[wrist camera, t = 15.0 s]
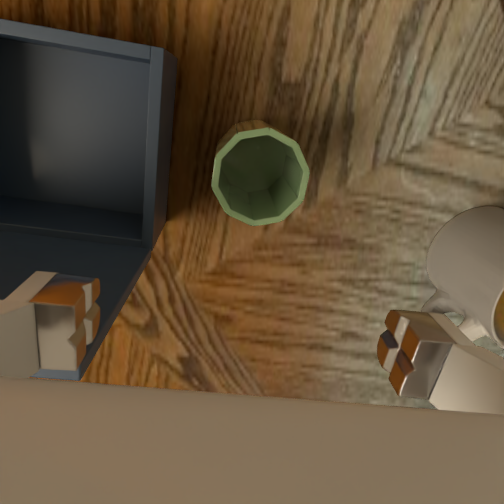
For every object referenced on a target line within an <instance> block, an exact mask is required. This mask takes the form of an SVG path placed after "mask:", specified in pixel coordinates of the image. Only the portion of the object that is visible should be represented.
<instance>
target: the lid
mask: <svg viewBox="0 0 504 504" xmlns="http://www.w3.org/2000/svg"><path fill="white" fill-rule="evenodd" d="M150 257H151V249H148V248H140V247H131V246H123V245H114V244H106V243H98V242H89V241H81V240H72V239H64V238H56V237H47V236H39V235H30V234H22V233H13V232H5V231H0V300H4V299H5V298H7V297H8V296H9V295H10V294H11V293H12V292H13V291H14V290H15V289H17V288H18V287H19V286H20V285H21V284H22V283H23V282H24V281H26V280H27V279H28V278H29V277H30V276H31V275H32V274H33V273H34V272H36V271H44V272H57V273H62V274H70V275H78V276H86V277H94V278H98V279H99V281H100V295H99V296H98V298H97V299H96V301H95V302H96V303H97V304H98V306H99V307H100V322H99V327H98V331H97V334H96V337H95V338H94V340H93V342H92V343H90V344H88V345H86V355H85V357H84V358H83V360H82V362H81V364H80V365H79V367H78V369H77V371H69V370H51V369H39V371H38V372H36V373H35V374H33V375H32V376H30V377H36V378H49V379H62V380H75V381H79V380H81V378H82V377H83V375H84V373H85V371H86V370H87V368H88V366H89V364H90V363H91V361H92V359H93V357H94V356H95V354H96V352H97V350H98V349H99V347H100V345H101V343H102V342H103V340H104V338H105V336H106V335H107V333H108V331H109V329H110V328H111V326H112V324H113V322H114V321H115V319H116V317H117V315H118V314H119V312H120V310H121V308H122V307H123V305H124V303H125V301H126V300H127V298H128V296H129V294H130V293H131V291H132V289H133V288H134V286H135V284H136V282H137V281H138V279H139V277H140V275H141V274H142V272H143V270H144V268H145V267H146V265H147V263H148V261H149V260H150Z"/></svg>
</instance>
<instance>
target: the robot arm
mask: <svg viewBox="0 0 504 504" xmlns="http://www.w3.org/2000/svg"><path fill="white" fill-rule="evenodd" d="M99 295H100V281H99V279H98V278H94V277H86V276H78V275H70V274H62V273H57V272H44V271H36V272H34V273H33V274H32V275H31V276H30V277H29V278H28V279H27V280H26V281H24V282H23V283H22V284H21V285H20V286H19V287H18V288H17V289H15V290H14V291H13V292H12V293H11V294H10V295H9V296H8V297H7V298H5V299H4V300H0V504H504V358H503V357H501V356H499V355H497V354H495V353H493V352H491V351H489V350H487V349H485V348H483V347H479V346H476V345H475V344H474V343H473V342H472V341H471V340H470V339H469V338H468V337H467V336H466V335H465V334H464V333H463V332H462V331H461V330H460V329H459V328H458V327H457V326H456V325H455V324H454V323H453V322H452V321H451V320H450V319H449V318H448V317H447V316H446V315H443V314H441V313H428V312H417V311H405V310H390V312H389V313H388V315H387V317H386V320H385V325H386V327H387V330H386V331H385V332H384V333H383V334H381V335H380V338H379V341H378V345H377V356H378V360H379V362H380V364H381V366H382V368H383V369H385V370H386V371H387V372H389V373H390V376H389V381H390V382H391V384H392V386H393V388H394V389H395V391H396V393H397V395H398V396H399V397H407V398H416V399H425V400H429V402H430V403H431V404H432V405H433V406H435V407H436V408H437V409H425V408H412V407H399V406H386V405H373V404H360V403H346V402H333V401H320V400H307V399H294V398H281V397H268V396H255V395H242V394H229V393H216V392H203V391H190V390H177V389H164V388H151V387H138V386H124V385H111V384H98V383H85V382H72V381H59V380H46V379H33V378H29V377H30V376H32V375H33V374H35V373H36V372H38V371H39V369H51V370H69V371H77V369H78V367H79V365H80V364H81V362H82V360H83V358H84V357H85V355H86V345H88V344H90V343H92V342H93V340H94V338H95V337H96V334H97V331H98V327H99V322H100V307H99V306H98V304H97V303H96V302H95V301H96V299H97V298H98V296H99Z"/></svg>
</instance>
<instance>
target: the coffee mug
mask: <svg viewBox="0 0 504 504" xmlns="http://www.w3.org/2000/svg"><path fill="white" fill-rule="evenodd" d="M426 267H427V273H428V275H429V278H430V280H431V282H432V283H433V285H434V286H435V287H436V288H437V291H436V293H435V294H434V295H433V296H432V297H431V298H430V299H429V300H428V301H427V302H426V304H425V305H424V306H423V308H422V310H421V312H428V313H441V314H444V313H446V312H455V313H458V314H460V315H462V316H463V317H464V320H463V322H462V323H461V324H460V325H459V326H457V327H458V328H459V329H460V330H461V331H462V332H463V333H464V334H465V335H466V336H467V337H468V338H469V339H470V340H471V341H472V342H473V341H474V340H476V339H478V338H480V337H482V336H487V337H489V338H491V339H492V340H493V341H494V342H495V343H496V344H497V345H498V346H499V347H500V348H502V349H503V350H504V209H503V208H499V207H494V206H484V207H477V208H473V209H470V210H467V211H465V212H463V213H461V214H459V215H457V216H455V217H454V218H453V219H451V220H450V221H449V222H447V223H446V224H445V225H444V226H443V227H442V228H441V230H440V231H439V232H438V233H437V234H436V236H435V237H434V239H433V241H432V243H431V245H430V247H429V250H428V254H427V261H426Z"/></svg>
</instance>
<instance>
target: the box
mask: <svg viewBox="0 0 504 504" xmlns="http://www.w3.org/2000/svg"><path fill="white" fill-rule="evenodd" d="M177 60H178V59H177V58H176V57H175V56H174V55H172V54H171V53H170V52H168V51H167V50H166V49H164V48H161V47H155V46H150V45H144V44H139V43H133V42H128V41H122V40H117V39H111V38H105V37H100V36H94V35H89V34H83V33H78V32H72V31H67V30H61V29H56V28H50V27H45V26H39V25H34V24H28V23H23V22H17V21H11V20H6V19H0V231H5V232H13V233H22V234H30V235H39V236H47V237H56V238H64V239H72V240H81V241H89V242H98V243H106V244H114V245H123V246H131V247H140V248H148V249H151V251H152V250H153V248H154V246H155V244H156V242H157V239H158V237H159V235H160V233H161V231H162V229H163V227H164V225H165V223H166V213H167V199H168V185H169V171H170V157H171V143H172V129H173V115H174V101H175V88H176V74H177Z"/></svg>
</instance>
